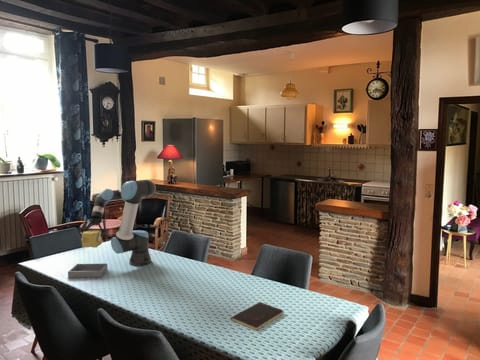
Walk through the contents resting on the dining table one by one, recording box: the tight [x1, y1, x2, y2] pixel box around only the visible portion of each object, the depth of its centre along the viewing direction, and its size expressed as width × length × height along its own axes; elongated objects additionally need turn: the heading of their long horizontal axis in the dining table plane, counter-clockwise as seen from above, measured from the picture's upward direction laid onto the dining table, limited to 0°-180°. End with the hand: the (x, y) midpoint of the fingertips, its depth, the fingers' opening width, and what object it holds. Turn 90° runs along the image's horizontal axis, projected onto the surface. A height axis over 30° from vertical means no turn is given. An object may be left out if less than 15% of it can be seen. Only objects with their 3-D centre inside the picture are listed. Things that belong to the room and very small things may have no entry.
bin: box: [67, 263, 109, 280], centre depth 245 cm, size 20×15×4 cm
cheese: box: [81, 229, 103, 249], centre depth 258 cm, size 10×11×10 cm
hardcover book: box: [230, 301, 284, 331], centre depth 188 cm, size 16×23×2 cm
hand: (90, 240), depth 255 cm, fingers closed on cheese, 11 cm apart
